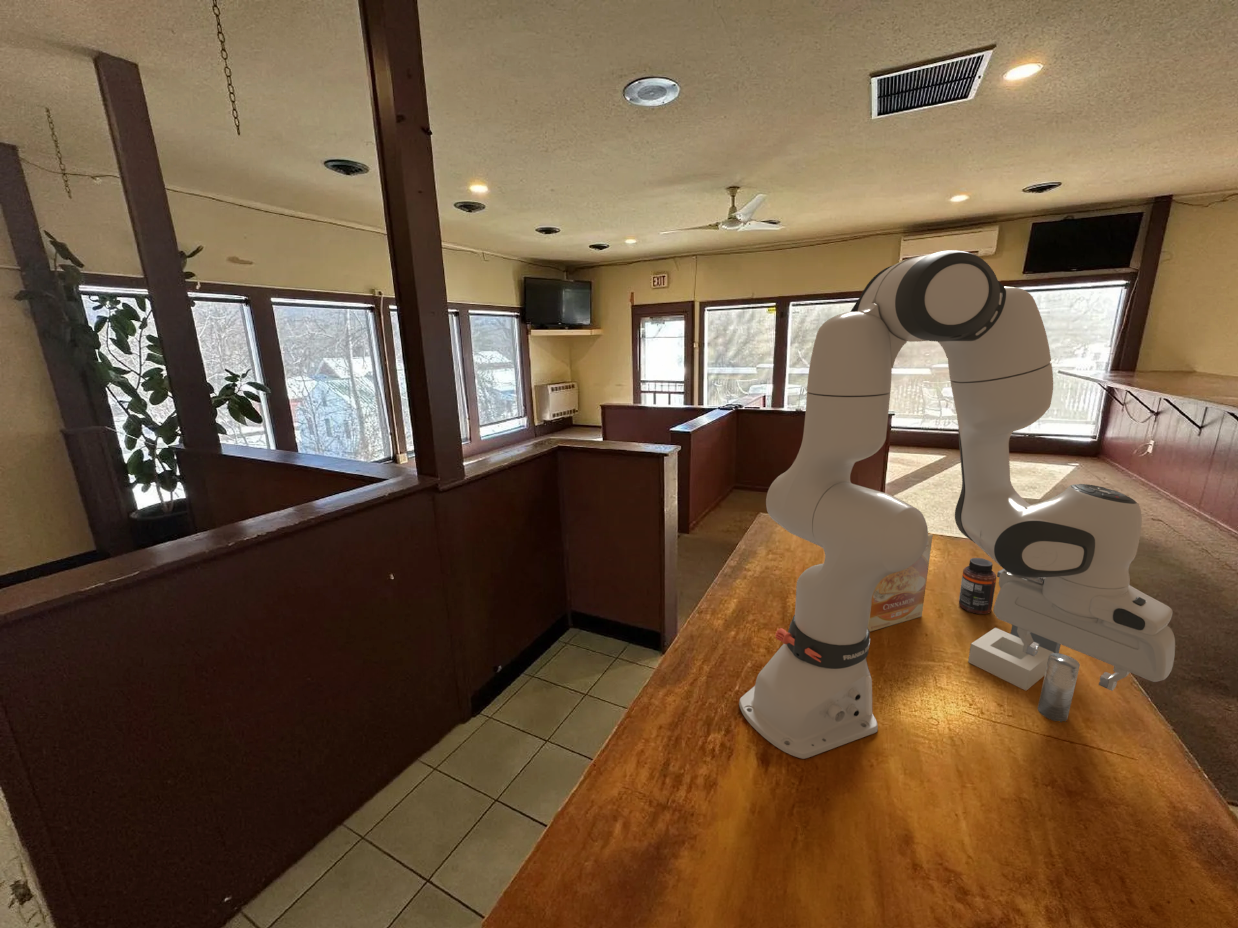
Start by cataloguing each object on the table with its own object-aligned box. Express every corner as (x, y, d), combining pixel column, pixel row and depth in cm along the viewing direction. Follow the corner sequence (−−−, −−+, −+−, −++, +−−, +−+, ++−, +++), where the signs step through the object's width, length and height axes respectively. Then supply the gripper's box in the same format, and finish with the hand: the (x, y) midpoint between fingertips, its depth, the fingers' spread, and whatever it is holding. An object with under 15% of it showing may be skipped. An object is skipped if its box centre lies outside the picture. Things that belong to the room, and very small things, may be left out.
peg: (1061, 725, 76) (1074, 670, 73) (1033, 710, 79) (1044, 658, 76) (1071, 715, 77) (1083, 662, 75) (1043, 701, 80) (1054, 650, 78)
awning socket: (1036, 695, 82) (1053, 617, 78) (959, 657, 92) (970, 586, 88) (1075, 662, 89) (1092, 589, 85) (999, 630, 99) (1011, 564, 95)
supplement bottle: (980, 600, 110) (987, 555, 107) (997, 615, 104) (1005, 567, 101) (952, 600, 111) (959, 555, 108) (967, 615, 105) (975, 567, 102)
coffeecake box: (869, 632, 101) (877, 546, 96) (843, 615, 107) (850, 533, 102) (924, 617, 105) (934, 534, 100) (896, 600, 112) (905, 522, 107)
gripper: (992, 570, 79) (981, 642, 83) (1174, 631, 62) (1150, 719, 66) (1010, 559, 82) (999, 629, 86) (1190, 614, 65) (1166, 699, 69)
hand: (1066, 668), depth 76 cm, fingers open, 8 cm apart
